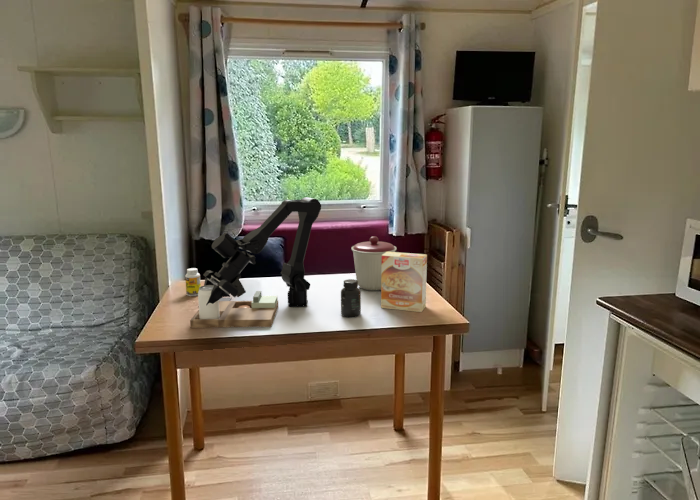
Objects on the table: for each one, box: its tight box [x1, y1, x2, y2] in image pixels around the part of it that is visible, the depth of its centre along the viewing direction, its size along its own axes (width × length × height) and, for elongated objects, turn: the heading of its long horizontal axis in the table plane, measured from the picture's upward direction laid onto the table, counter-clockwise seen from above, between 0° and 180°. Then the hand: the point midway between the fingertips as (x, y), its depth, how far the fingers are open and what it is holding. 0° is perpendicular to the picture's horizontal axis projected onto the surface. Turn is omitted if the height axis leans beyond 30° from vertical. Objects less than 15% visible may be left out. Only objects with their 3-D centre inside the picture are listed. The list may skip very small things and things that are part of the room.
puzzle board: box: [189, 300, 279, 329], centre depth 179 cm, size 26×20×2 cm
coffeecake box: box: [380, 251, 428, 313], centre depth 186 cm, size 15×7×20 cm, turn 70°
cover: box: [251, 290, 279, 308], centre depth 184 cm, size 8×8×4 cm
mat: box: [198, 297, 233, 308], centre depth 195 cm, size 10×10×1 cm
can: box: [197, 285, 220, 319], centre depth 173 cm, size 6×6×12 cm
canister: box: [350, 236, 398, 291], centre depth 211 cm, size 18×18×21 cm
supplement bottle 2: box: [340, 278, 362, 318], centre depth 180 cm, size 7×7×12 cm
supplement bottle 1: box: [184, 267, 202, 297], centre depth 204 cm, size 6×6×10 cm
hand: (204, 303), depth 172 cm, fingers closed on can, 5 cm apart
